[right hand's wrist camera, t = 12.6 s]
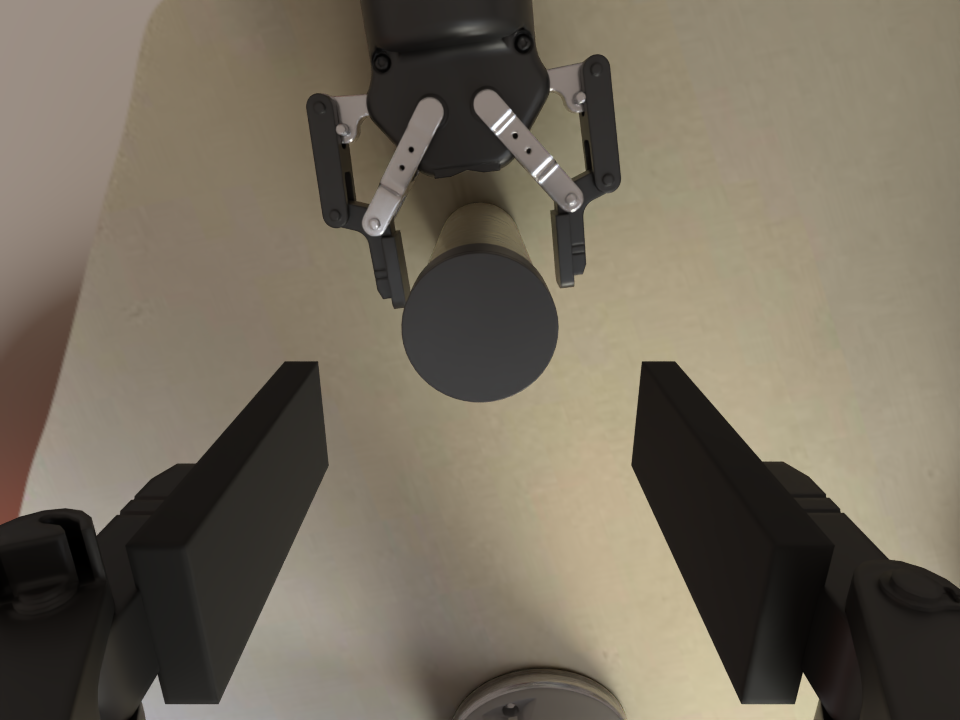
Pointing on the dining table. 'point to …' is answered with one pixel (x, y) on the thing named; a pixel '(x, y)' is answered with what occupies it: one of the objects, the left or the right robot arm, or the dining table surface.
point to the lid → (480, 323)
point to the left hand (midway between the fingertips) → (483, 294)
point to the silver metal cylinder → (480, 229)
